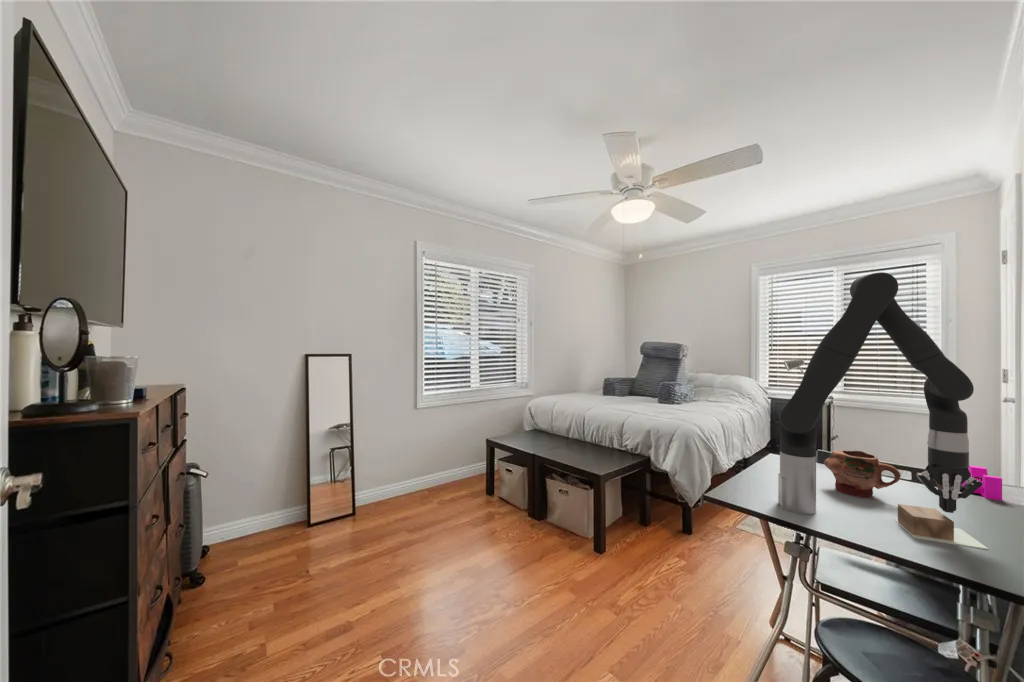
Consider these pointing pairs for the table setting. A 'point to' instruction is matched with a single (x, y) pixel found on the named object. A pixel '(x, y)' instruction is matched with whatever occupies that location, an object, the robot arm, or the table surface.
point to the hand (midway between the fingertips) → (947, 511)
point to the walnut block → (926, 522)
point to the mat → (959, 538)
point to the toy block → (987, 483)
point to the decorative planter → (858, 472)
